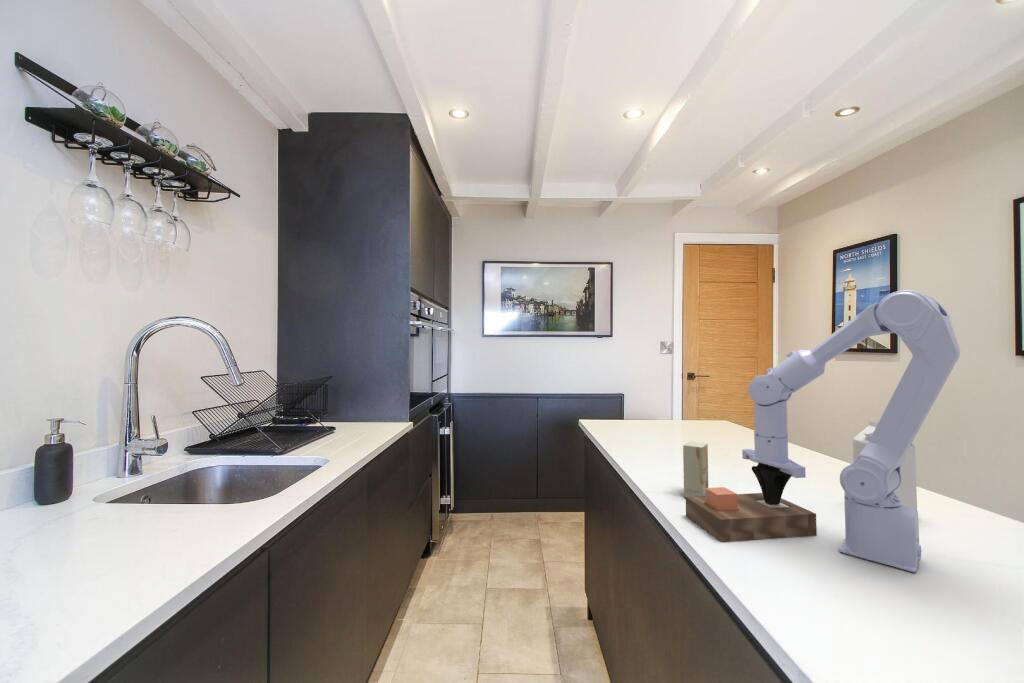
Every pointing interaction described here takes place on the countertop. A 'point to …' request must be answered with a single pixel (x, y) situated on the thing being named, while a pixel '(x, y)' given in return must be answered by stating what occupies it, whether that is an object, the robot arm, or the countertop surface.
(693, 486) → the skincare box
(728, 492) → the terracotta button
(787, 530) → the button block
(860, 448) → the milk carton
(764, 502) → the grey button
